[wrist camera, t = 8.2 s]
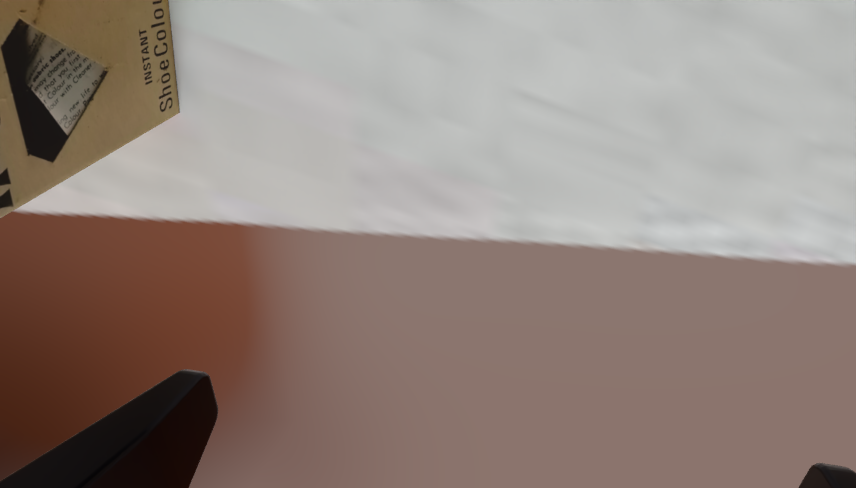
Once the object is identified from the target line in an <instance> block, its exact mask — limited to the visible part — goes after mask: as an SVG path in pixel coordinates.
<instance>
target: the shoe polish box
mask: <svg viewBox="0 0 856 488" xmlns="http://www.w3.org/2000/svg"><path fill="white" fill-rule="evenodd" d="M178 113H179V104H178V94H177V84H176V74H175V64H174V55H173V45H172V35H171V25H170V15H169V5H168V0H0V218H1V217H3V216H5V215H6V214H8V213H10V212H12V211H13V210H15V209H17V208H18V207H20V206H22V205H23V204H25V203H27V202H29V201H30V200H32V199H34V198H35V197H37V196H39V195H40V194H42V193H44V192H46V191H47V190H49V189H51V188H52V187H54V186H56V185H57V184H59V183H61V182H63V181H64V180H66V179H68V178H69V177H71V176H73V175H74V174H76V173H78V172H79V171H81V170H83V169H85V168H86V167H88V166H90V165H91V164H93V163H95V162H96V161H98V160H100V159H102V158H103V157H105V156H107V155H108V154H110V153H112V152H113V151H115V150H117V149H119V148H120V147H122V146H124V145H125V144H127V143H129V142H130V141H132V140H134V139H136V138H137V137H139V136H141V135H142V134H144V133H146V132H147V131H149V130H151V129H152V128H154V127H156V126H158V125H159V124H161V123H163V122H164V121H166V120H168V119H169V118H171V117H173V116H175V115H176V114H178Z"/></svg>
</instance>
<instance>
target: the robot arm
mask: <svg viewBox="0 0 856 488" xmlns="http://www.w3.org/2000/svg"><path fill="white" fill-rule="evenodd" d="M217 416H218V405H217V402H216V398H215V394H214V390H213V386H212V383H211V379H210V376H209V375H208V374H207V373H205V372H201V371H193V370H187V369H185V370H181V371H178V372H176V373H175V374H173V375H172V376H170V377H168V378H167V379H165V380H164V381H162V382H160V383H159V384H157V385H155V386H154V387H152V388H150V389H149V390H147V391H146V392H144V393H142V394H141V395H139V396H137V397H136V398H134V399H133V400H131V401H130V402H128V403H126V404H125V405H123V406H121V407H120V408H118V409H117V410H115V411H113V412H112V413H110V414H108V415H107V416H105V417H103V418H102V419H100V420H99V421H97V422H95V423H94V424H92V425H91V426H89V427H87V428H86V429H84V430H83V431H81V432H79V433H78V434H76V435H74V436H73V437H71V438H69V439H68V440H67V441H65V442H63V443H61V444H60V445H58V446H56V447H55V448H53V449H52V450H50V451H48V452H47V453H45V454H43V455H42V456H40V457H39V458H37V459H35V460H34V461H32V462H31V463H29V464H27V465H26V466H24V467H22V468H21V469H19V470H18V471H16V472H14V473H13V474H11V475H9V476H8V477H6V478H5V479H3V480H1V481H0V488H189V486H190V484H191V481H192V479H193V476H194V474H195V472H196V469H197V467H198V464H199V462H200V460H201V457H202V454H203V452H204V450H205V447H206V445H207V442H208V440H209V438H210V435H211V433H212V430H213V428H214V426H215V423H216V420H217ZM799 488H856V473H855V472H854V471H852V470H851V469H849V468H846V467H842V466H836V465H829V464H823V463H817V464H815V465H813V466H812V467H811V468H810V469H809V471H808V473H807V474H806V476H805V478H804V479H803V481H802V483H801V484H800V486H799Z"/></svg>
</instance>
